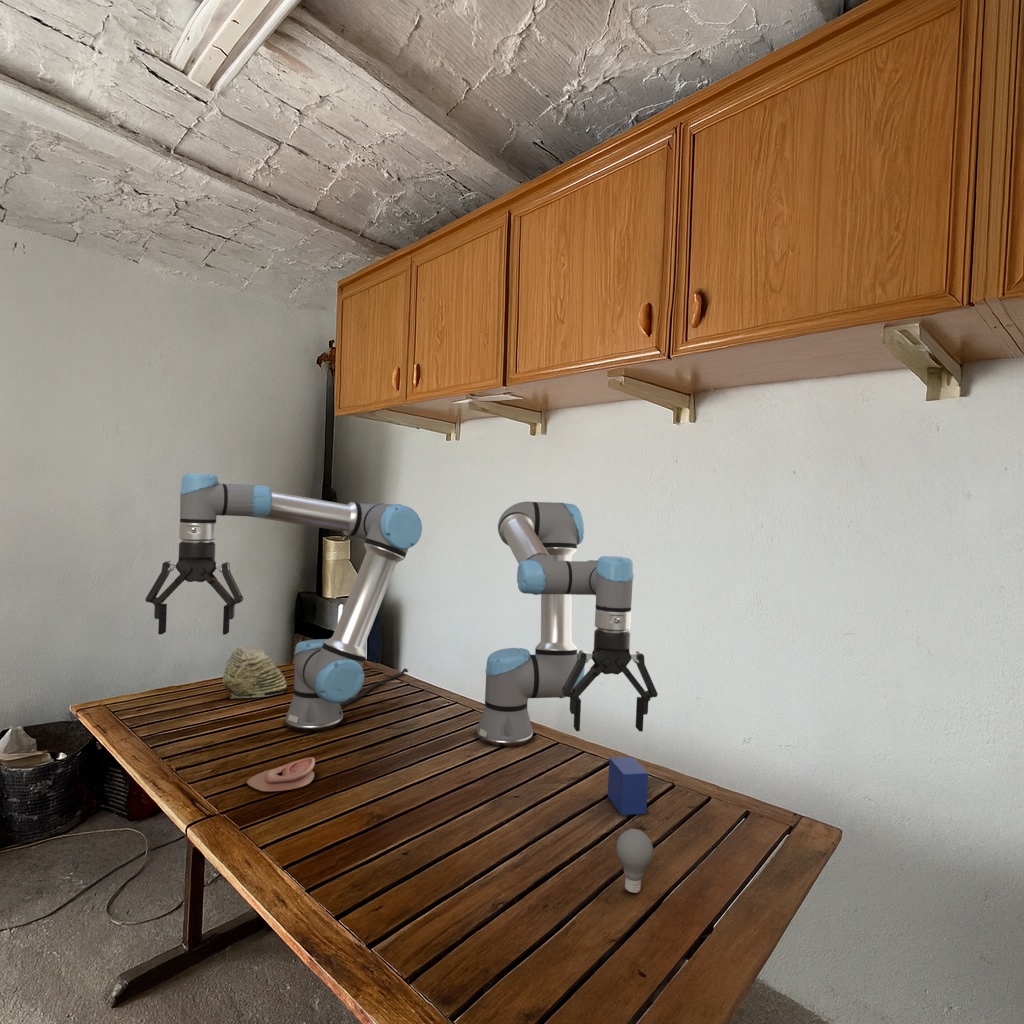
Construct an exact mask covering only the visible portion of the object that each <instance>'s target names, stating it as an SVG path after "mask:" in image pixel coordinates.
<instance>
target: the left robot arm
mask: <svg viewBox="0 0 1024 1024" xmlns="http://www.w3.org/2000/svg"><path fill="white" fill-rule="evenodd" d="M179 494H180V495H179V496H180V500H179V503H180V504H179V505H180V506H179V531H178V532H179V536H178V538H179V540H181V541H180V542H179V543H178V560H177V562H173V561H171V560H166V561H163V562H162V564H161V565H162V566H161V571H160V573H159V574H158V577H157V578H156V580H155V581H154V583H153V585H152V587H151V588H150V590H149V592H148V594H147V595H146V597H145V602H146V603H150V604H153V606H154V610H153V611H154V614H153V617H154V620H158V627H157V628H158V630H157V633H158V635H163V634H165V633H167V614H168V613H167V611H168V604H167V603H165V601H166V600H167V599H168V598H169V597H170V596H171V595H172V593H174V591H176V589H178V588H179V586H181V584H183V582H184V581H186V582H187V583H193V582H196V583H204V582H207V584H208V585H210V586H211V587H212V589H213V590H214V591H215V592H216V593H217V594H218V595H219V597H220V598H221V599H222V600H223V601H224V602H225V603H226V604H225V605H223V614H222V616H223V618H222V619H223V620H222V635H227V634H229V633H230V620H233V619H234V618H235V611H236V609H235V608H236V605H238V604H241V602H243V601H244V597H243V594H242V592H241V589H240V588H239V586H238V584H237V582H236V580H235V577H234V576H233V574H232V572H231V566H230V565H231V564H230V562H228V561H226V562H223V563H222V562H221V563H217V562H216V543H215V542H214V541H215V540H216V539H217V516H220V517H221V516H222V517H223V516H228V517H229V516H230V517H249V518H256V519H263V520H269V521H274V522H275V521H276V522H281V523H289V524H295V525H302V526H306V527H307V526H308V527H313V528H319V529H320V528H321V529H327V530H332V531H340V532H342V533H343V534H344V535H345V536H349V537H355V538H358V539H361V540H364V543H363V546H364V548H365V550H366V552H365V556H364V558H363V560H362V563H361V565H360V567H359V570H358V573H357V575H356V577H355V580H354V582H353V585H352V587H351V590H350V592H349V595H348V597H347V600H346V603H345V604H344V607H343V610H342V613H341V615H340V616H339V621H338V622H337V625H336V627H335V629H334V632H333V634H332V636H331V637H330V638H323V639H322V638H320V639H307V640H303V641H299V642H297V644H296V645H295V650H294V651H295V652H294V653H293V654H294V655H293V656H294V672H293V673H294V674H293V695H292V696H293V697H292V699H291V702H290V704H289V708H288V711H287V713H286V715H285V726H286V728H287V729H289V730H291V731H294V732H295V731H296V732H301V733H316V732H325V731H329V730H332V729H335V728H337V727H339V726H340V725H342V723H343V722H344V713H343V709H342V707H344V706H347V705H349V704H352V703H353V702H355V701H357V700H359V699H360V698H362V697H363V696H365V695H366V693H368V692H370V691H371V690H373V689H374V688H376V687H378V686H380V685H381V684H384V683H386V682H389V681H391V680H394V679H396V678H398V677H402V675H404V674H405V673H409V669H408V668H403V669H402V671H400V672H399V673H397V674H394V675H391V676H389V677H386V678H384V679H381V680H379V681H377V682H376V683H374V684H372V685H370V686H369V687H367V688H366V689H364V691H362V692H361V693H360V691H361V690H362V688H363V686H364V682H365V673H364V669H363V667H364V663H365V662H366V661H365V660H366V658H367V653H366V651H365V645H366V643H367V640H368V637H369V635H370V632H371V630H372V628H373V625H374V622H375V619H376V617H377V614H378V613H379V609H380V606H381V604H382V601H383V599H384V597H385V595H386V591H387V589H388V587H389V584H390V582H391V579H392V576H393V574H394V571H395V568H396V567H397V564H398V563H399V562H402V561H404V560H405V559H406V557H407V554H408V551H409V549H410V548H413V547H414V546H416V545H417V543H418V542H419V541H420V539H421V537H422V533H423V524H422V520H421V518H420V516H419V514H418V513H417V512H416V510H414V509H413V508H412V507H410V506H407V505H403V504H400V503H361V502H354V501H350V502H349V503H347V504H345V503H341V502H334V501H328V500H322V499H318V498H313V497H306V496H301V495H296V494H295V495H294V494H290V493H283V492H279V491H272V490H271V488H270V487H269V486H267V485H258V484H238V483H237V484H236V483H235V484H234V483H221V482H219V478H218V476H217V475H216V474H207V473H185V474H184V475H183V476H182V478H181V487H180V492H179ZM175 569H176V570H177V572H178V573H179V575H178V576H177V577H176V578H175V579H174V580H173V581H172V582H171V584H169V586H168V587H167V588H165V590H164V591H162V593H161V594H160V595H159V596H158V594H159V593H160V591H161V589H162V588H163V586H164V585H165V583H166V580H167V579H168V578H169V575H170V574H171V572H173V571H174V570H175ZM216 570H218V571H219V572H220V573H221V574H222V577H223V578H224V581H225V582H226V584H227V587H228V588H229V591H230V592H229V591H228V590H227V589H226V588H225V587H224V585H223V584H221V582H220V581H219V580H218V577H216V576H215V574H214V572H216ZM230 593H231V594H230ZM157 596H158V597H157ZM400 673H401V674H400Z"/></svg>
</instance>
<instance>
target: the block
mask: <svg viewBox="0 0 1024 1024" xmlns="http://www.w3.org/2000/svg"><path fill="white" fill-rule="evenodd" d="M608 759H609V760H608V777H607V778H608V779H607V780H608V781H607V797H608V799H609V800H610V801H611V803H612V805H613V806H614V807H615V808H616V810H617V811H618V812H619V814H620V815H621V816H631V815H633V816H634V815H647V807H648V806H647V805H648V787H649V785H648V784H649V772H648V771H647V770H646V769H645V768H644V767H643V766H642V765H641V764H640V763H639V762H638V760H637V759H635V758H634V756H619V757H618V756H617V757H609V758H608Z"/></svg>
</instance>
